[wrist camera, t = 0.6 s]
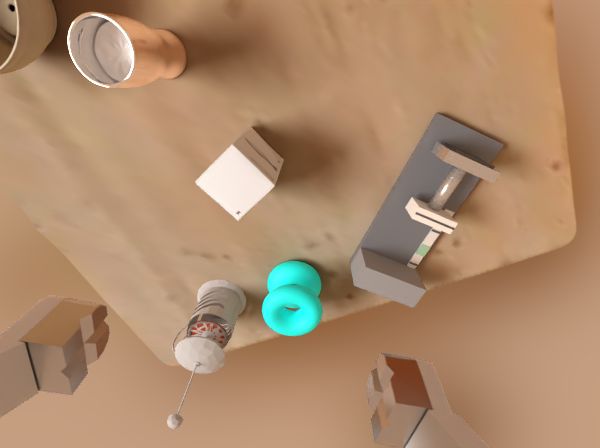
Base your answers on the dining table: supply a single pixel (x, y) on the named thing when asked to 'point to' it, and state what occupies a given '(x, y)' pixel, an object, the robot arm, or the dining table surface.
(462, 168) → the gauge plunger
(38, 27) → the planter bowl
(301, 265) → the donuts
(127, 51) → the beer glass
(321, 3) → the dining table surface
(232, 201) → the supplement box
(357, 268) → the frame
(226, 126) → the dining table surface
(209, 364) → the french press
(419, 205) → the gauge pointer
